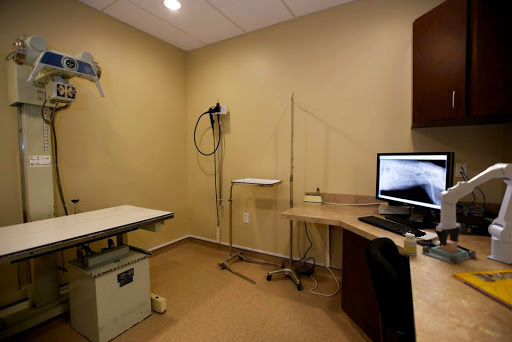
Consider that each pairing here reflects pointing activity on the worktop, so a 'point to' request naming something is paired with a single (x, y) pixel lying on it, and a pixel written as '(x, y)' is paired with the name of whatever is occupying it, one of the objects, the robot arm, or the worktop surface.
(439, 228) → the robot arm
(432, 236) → the paper stack
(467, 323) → the worktop surface
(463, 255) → the chassis
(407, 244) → the supplement bottle
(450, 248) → the block
